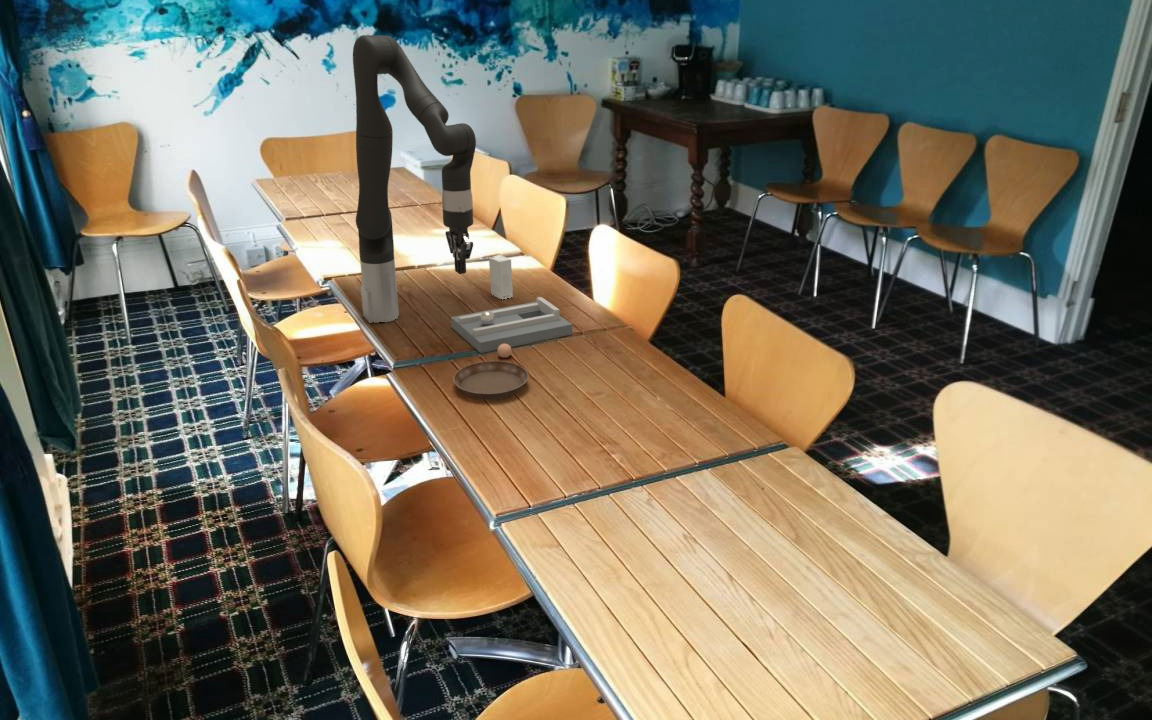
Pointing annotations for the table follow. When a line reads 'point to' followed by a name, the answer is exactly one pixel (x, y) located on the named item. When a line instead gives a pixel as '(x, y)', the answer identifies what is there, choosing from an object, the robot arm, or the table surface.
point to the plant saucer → (491, 379)
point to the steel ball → (487, 318)
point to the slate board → (513, 326)
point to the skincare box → (501, 277)
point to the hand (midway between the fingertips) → (460, 272)
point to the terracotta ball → (504, 350)
